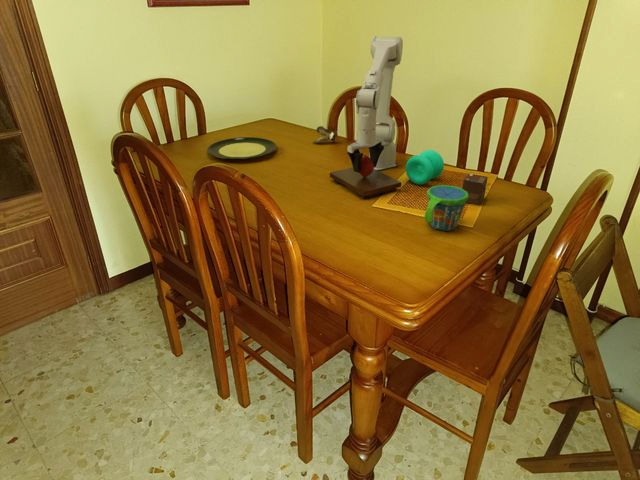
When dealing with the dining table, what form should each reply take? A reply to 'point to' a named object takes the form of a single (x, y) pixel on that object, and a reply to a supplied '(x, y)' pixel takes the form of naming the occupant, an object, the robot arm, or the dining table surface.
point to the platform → (366, 182)
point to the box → (475, 188)
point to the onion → (366, 166)
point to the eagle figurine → (325, 134)
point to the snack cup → (445, 206)
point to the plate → (241, 148)
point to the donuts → (424, 167)
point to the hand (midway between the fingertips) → (365, 169)
